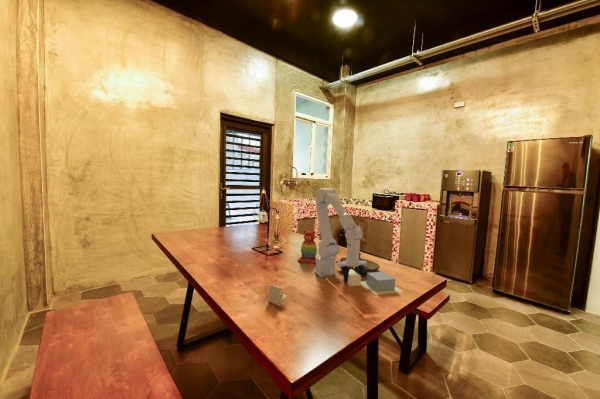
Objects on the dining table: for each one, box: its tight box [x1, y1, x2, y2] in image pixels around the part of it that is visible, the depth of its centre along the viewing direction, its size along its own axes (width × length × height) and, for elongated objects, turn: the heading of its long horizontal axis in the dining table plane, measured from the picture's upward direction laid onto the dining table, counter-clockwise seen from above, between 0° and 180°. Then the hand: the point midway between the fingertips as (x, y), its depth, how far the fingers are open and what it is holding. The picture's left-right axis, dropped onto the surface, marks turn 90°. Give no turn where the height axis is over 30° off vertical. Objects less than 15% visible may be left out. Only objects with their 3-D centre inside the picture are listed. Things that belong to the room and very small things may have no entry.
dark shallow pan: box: [335, 251, 380, 274], centre depth 142 cm, size 22×30×8 cm
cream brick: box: [342, 269, 362, 287], centre depth 121 cm, size 5×8×6 cm, turn 17°
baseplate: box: [360, 280, 404, 296], centre depth 118 cm, size 14×14×1 cm
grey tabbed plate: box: [268, 283, 289, 307], centre depth 101 cm, size 3×7×7 cm, turn 53°
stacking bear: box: [297, 230, 318, 265], centre depth 152 cm, size 11×10×18 cm
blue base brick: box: [365, 271, 396, 292], centre depth 118 cm, size 9×9×5 cm
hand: (351, 281), depth 121 cm, fingers closed on cream brick, 5 cm apart
